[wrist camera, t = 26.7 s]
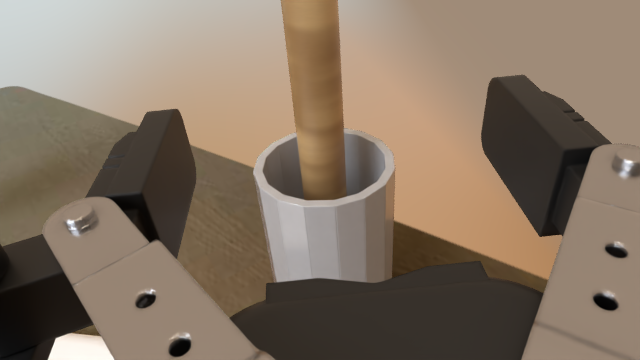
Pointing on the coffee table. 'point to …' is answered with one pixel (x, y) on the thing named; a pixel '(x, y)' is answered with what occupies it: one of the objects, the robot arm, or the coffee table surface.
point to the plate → (79, 348)
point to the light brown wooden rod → (317, 95)
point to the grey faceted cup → (329, 214)
